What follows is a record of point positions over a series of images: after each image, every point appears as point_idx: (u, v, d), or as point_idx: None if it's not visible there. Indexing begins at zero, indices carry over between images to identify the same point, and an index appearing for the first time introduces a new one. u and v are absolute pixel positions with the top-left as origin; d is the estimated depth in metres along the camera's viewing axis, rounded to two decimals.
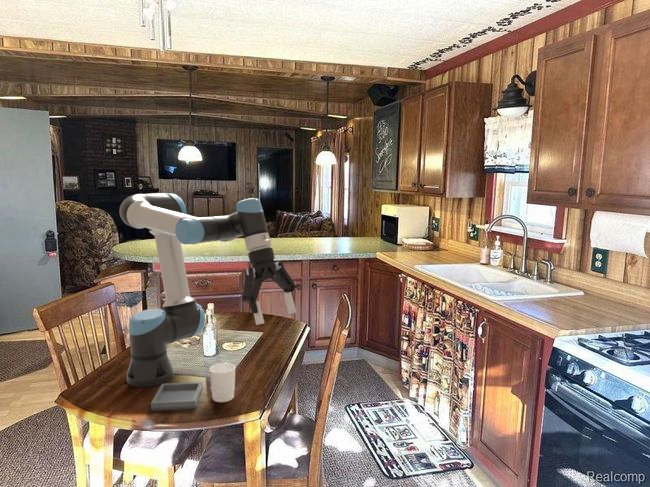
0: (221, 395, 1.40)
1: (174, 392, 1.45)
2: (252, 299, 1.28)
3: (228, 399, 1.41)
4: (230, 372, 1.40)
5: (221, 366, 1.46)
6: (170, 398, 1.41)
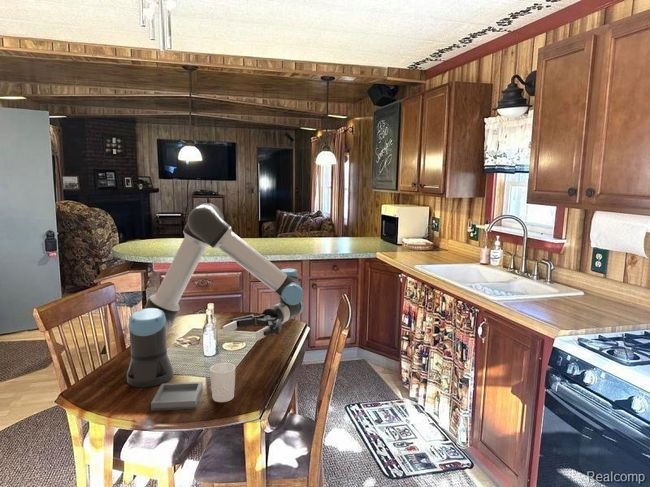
0: (221, 395, 1.40)
1: (174, 392, 1.45)
2: (273, 332, 1.52)
3: (228, 399, 1.41)
4: (230, 372, 1.40)
5: (221, 366, 1.46)
6: (170, 398, 1.41)
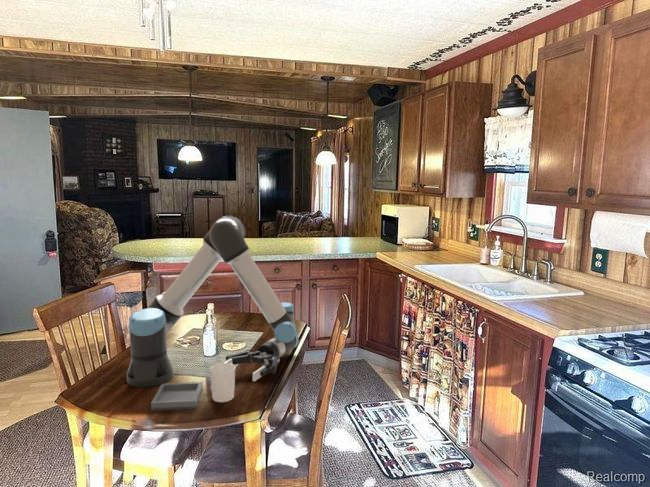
0: (221, 395, 1.40)
1: (174, 392, 1.45)
2: (269, 372, 1.51)
3: (228, 399, 1.41)
4: (230, 372, 1.40)
5: (221, 366, 1.46)
6: (170, 398, 1.41)
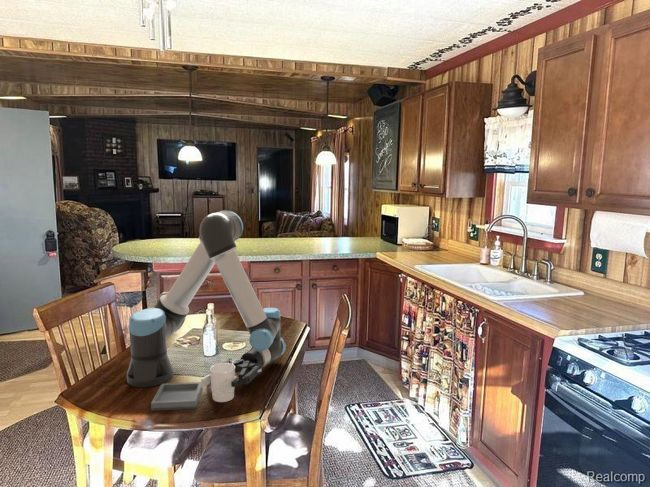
0: (221, 395, 1.40)
1: (174, 392, 1.45)
2: (241, 382, 1.43)
3: (228, 399, 1.41)
4: (230, 372, 1.40)
5: (221, 366, 1.46)
6: (170, 398, 1.41)
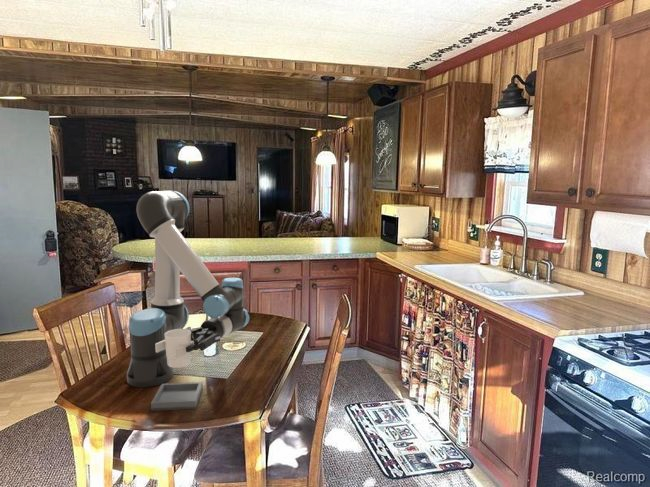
0: (175, 360, 1.37)
1: (174, 392, 1.45)
2: (197, 348, 1.40)
3: (183, 365, 1.38)
4: (185, 337, 1.37)
5: (177, 332, 1.43)
6: (170, 398, 1.41)
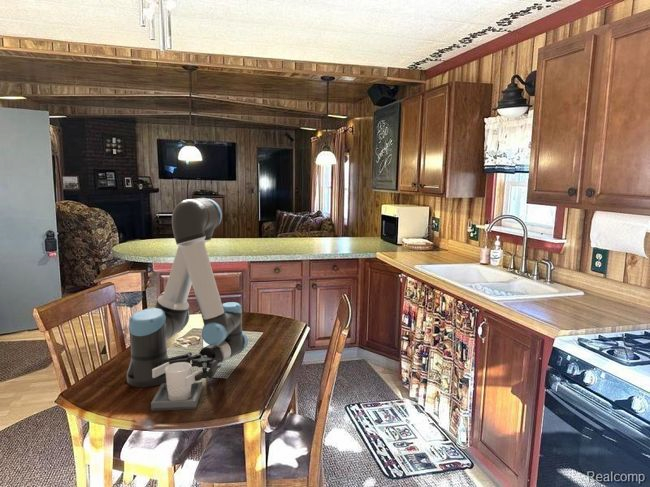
0: (176, 394, 1.39)
1: None
2: (206, 376, 1.41)
3: (184, 399, 1.40)
4: (185, 371, 1.38)
5: (178, 365, 1.44)
6: None
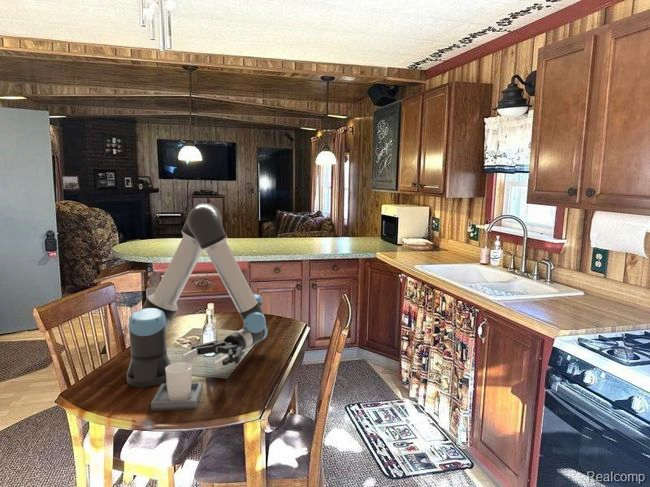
0: (176, 395, 1.38)
1: None
2: (232, 361, 1.53)
3: (184, 399, 1.40)
4: (185, 372, 1.38)
5: (178, 366, 1.44)
6: None
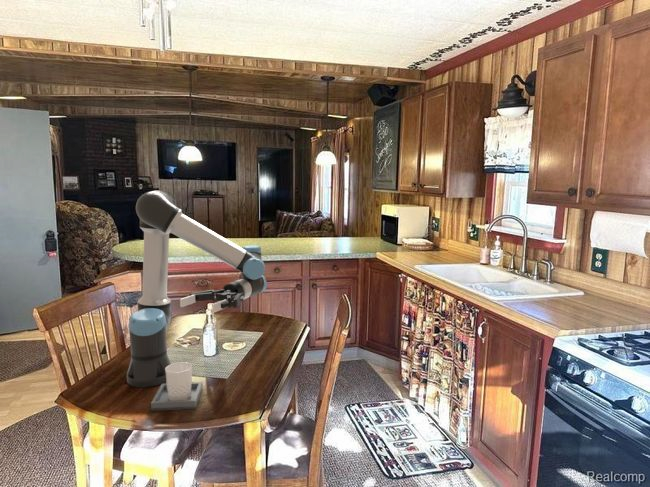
0: (176, 395, 1.38)
1: None
2: (231, 306, 1.50)
3: (184, 399, 1.40)
4: (185, 372, 1.38)
5: (178, 366, 1.44)
6: None
